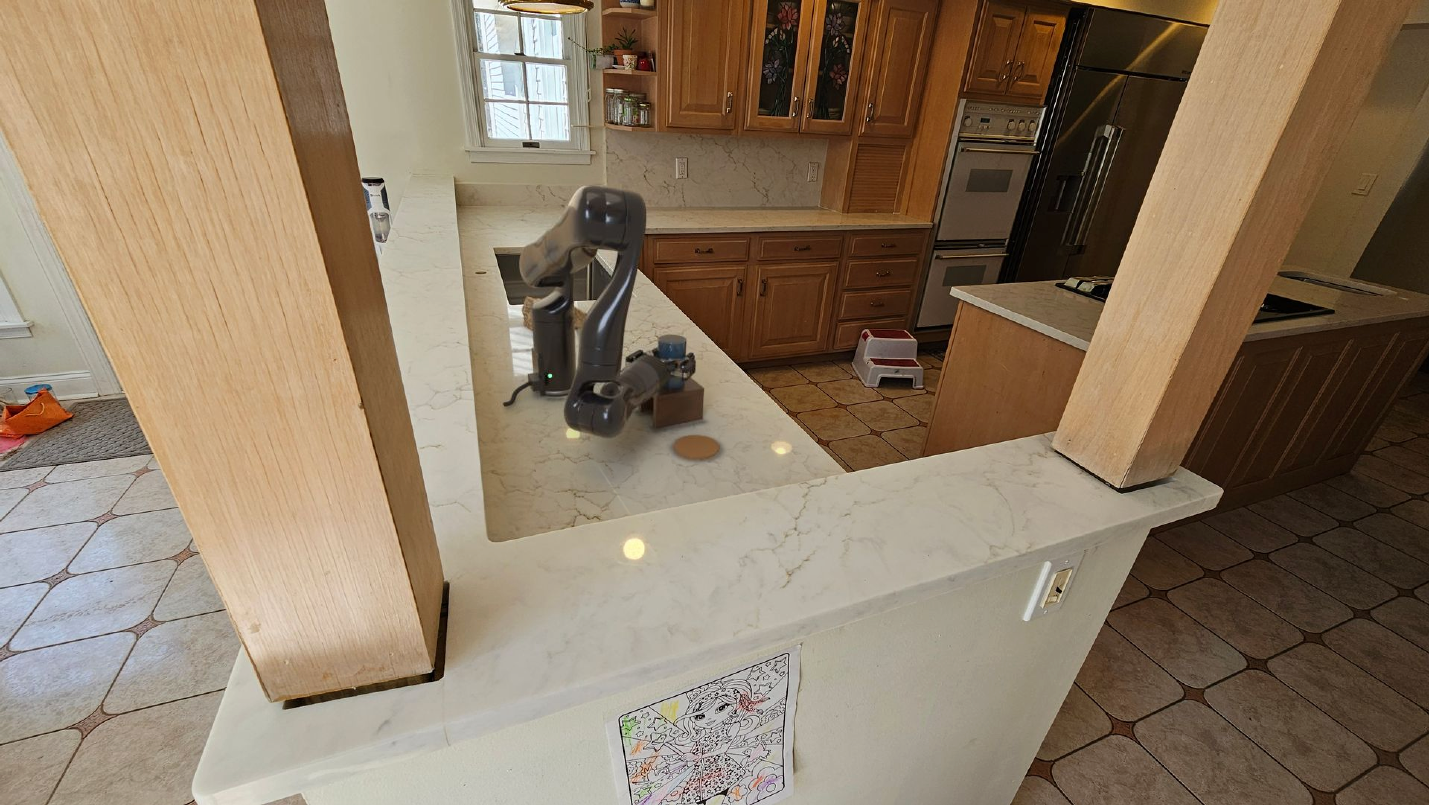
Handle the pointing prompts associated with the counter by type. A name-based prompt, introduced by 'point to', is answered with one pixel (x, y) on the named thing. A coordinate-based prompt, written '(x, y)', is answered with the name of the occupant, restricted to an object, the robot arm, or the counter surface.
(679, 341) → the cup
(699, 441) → the coaster
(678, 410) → the shelf
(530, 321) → the rock
